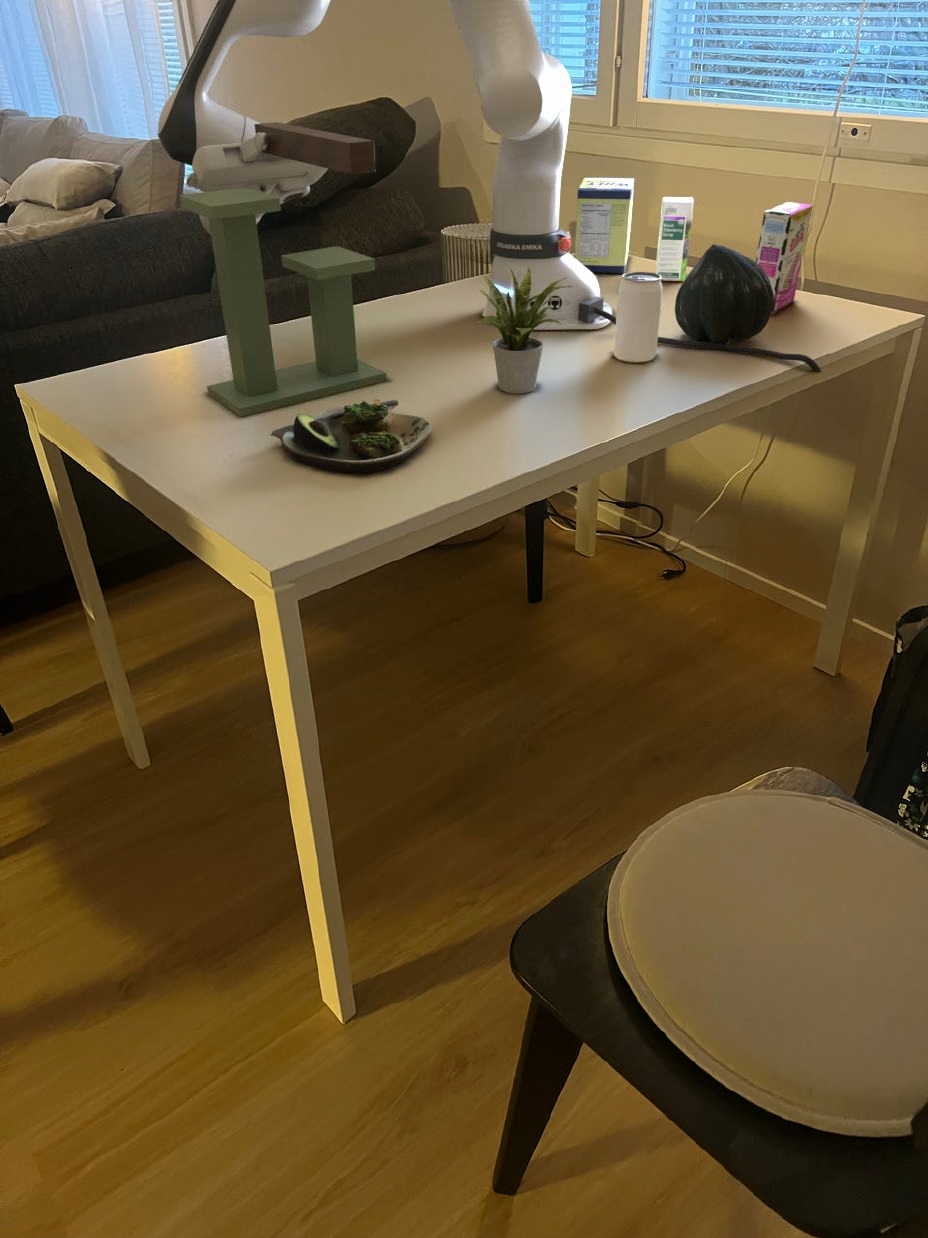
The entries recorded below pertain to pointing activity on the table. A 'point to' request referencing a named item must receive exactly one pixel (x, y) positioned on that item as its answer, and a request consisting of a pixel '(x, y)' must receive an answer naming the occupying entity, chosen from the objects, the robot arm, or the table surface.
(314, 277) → the plant stand
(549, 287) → the house plant
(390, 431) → the salad plate
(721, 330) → the squash
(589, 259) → the protein box
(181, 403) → the table surface
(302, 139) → the walnut stick
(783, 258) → the candy bar box
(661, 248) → the syrup box
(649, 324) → the can
